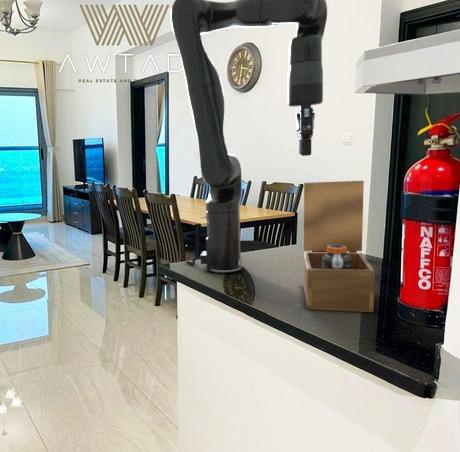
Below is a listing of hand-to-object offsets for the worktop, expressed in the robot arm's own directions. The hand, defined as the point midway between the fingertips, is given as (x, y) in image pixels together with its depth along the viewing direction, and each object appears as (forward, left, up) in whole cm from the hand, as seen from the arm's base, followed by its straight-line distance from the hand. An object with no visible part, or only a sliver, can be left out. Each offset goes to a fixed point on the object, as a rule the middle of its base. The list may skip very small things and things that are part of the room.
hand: (304, 155), depth 108 cm
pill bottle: (+6, -9, -31) cm, 33 cm away
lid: (+6, -2, -15) cm, 16 cm away
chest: (+6, -9, -32) cm, 34 cm away
